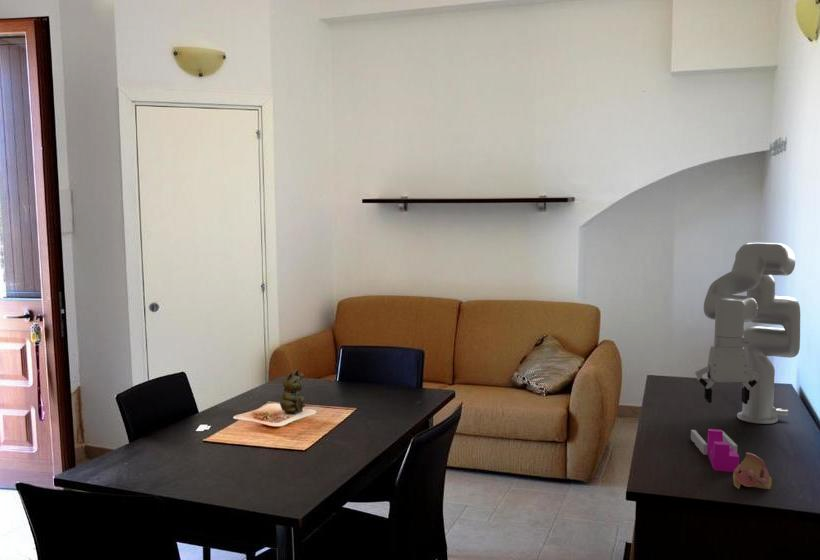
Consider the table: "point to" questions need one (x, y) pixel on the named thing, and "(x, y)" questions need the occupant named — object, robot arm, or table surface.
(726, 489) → the table surface
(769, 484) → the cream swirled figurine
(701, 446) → the guide channel
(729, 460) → the toy block
